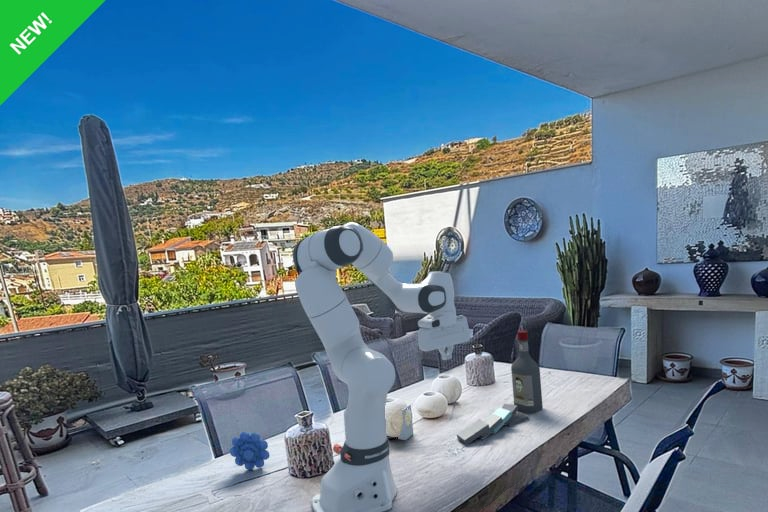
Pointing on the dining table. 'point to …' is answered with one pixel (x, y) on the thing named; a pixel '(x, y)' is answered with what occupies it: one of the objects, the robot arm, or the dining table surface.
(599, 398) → the dining table surface
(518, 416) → the domino
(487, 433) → the domino
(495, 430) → the domino
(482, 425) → the domino
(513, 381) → the liquor
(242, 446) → the blue flower
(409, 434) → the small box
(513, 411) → the domino
